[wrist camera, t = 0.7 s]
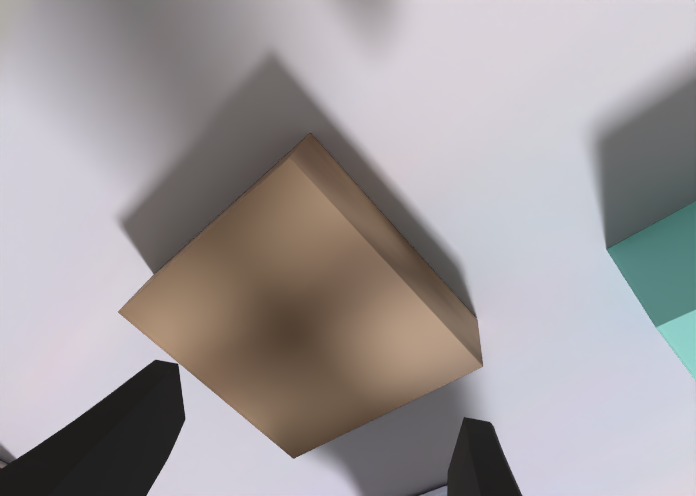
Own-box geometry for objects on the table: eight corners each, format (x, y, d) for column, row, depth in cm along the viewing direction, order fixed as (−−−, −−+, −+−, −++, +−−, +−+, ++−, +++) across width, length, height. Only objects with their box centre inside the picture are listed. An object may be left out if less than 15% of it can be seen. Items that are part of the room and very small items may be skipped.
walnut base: (477, 319, 21) (483, 366, 19) (307, 411, 26) (293, 458, 23) (310, 132, 18) (289, 157, 16) (153, 275, 23) (117, 312, 20)
